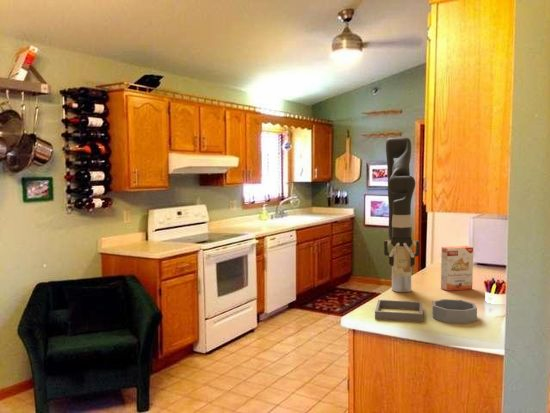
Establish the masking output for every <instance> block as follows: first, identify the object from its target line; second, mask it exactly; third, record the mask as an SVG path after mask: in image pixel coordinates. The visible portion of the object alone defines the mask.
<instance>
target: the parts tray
mask: <svg viewBox="0 0 550 413" xmlns="http://www.w3.org/2000/svg"><path fill="white" fill-rule="evenodd" d="M384 307H386V308H388V309H401V308H404V309H405V310H419V312H418V313H417V312H404V311H403V312H402V311H400V312H399V311H387V310H386V311H383V310H381V308H384ZM423 316H424V314H423V301H408V300H391V299H390V300H389V299H378V300H377V303H376V307H375V309H374V319H375V320H385V319H386V320H387V321H399V322H400V321H402V322H417V323H418V322H419V323H423V321H424V320H423V318H424V317H423Z"/></svg>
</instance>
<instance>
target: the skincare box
mask: <svg viewBox="0 0 550 413" xmlns="http://www.w3.org/2000/svg"><path fill="white" fill-rule="evenodd" d="M393 248H394V246H393V245H392V249H393ZM409 248H410V250H412V245H411V246H410V247H409ZM394 250H395V252H394V254H393V271H392V270H391V276H392V275H394V276H397V277H403V276H411V277H412V267H411V255H410V254H409V252H408V251H407V249H406V248H405V247H404V246H396V248H395V249H394Z"/></svg>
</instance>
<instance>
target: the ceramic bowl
mask: <svg viewBox="0 0 550 413" xmlns="http://www.w3.org/2000/svg"><path fill="white" fill-rule="evenodd" d="M431 307H432V311H431V312H432V313H431V314H432V318H433V319H434V320H436V321H440V322H444V323H446V324H447V323H448V324H458V325H459V324H460V325H465V324H471V323H474V322H477V321H478V307H477V305H476V303H474V302H470V301H467V300H462V299H450V298H449V299H448V298H443V299H442V298H441V299H438V300H434V301H432V306H431Z"/></svg>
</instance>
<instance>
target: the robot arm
mask: <svg viewBox="0 0 550 413" xmlns="http://www.w3.org/2000/svg"><path fill="white" fill-rule="evenodd" d="M385 153H386V154H385V155H386V163H387V164H386V166H387V198H388V201H387V202H388V239H389V240H387V239H385V240H384V241H383V251H384V255H385V256H387V257H388V264H389V265H390V266H391V272H392V271H393V254H394V252H395V250H394V249H395V248H396V246H404V247H405V248H406V249H407V251H408V252H409V254H410V255H411V268H412V267H414V266H415V259H416V257H419V256H420V241H419V240H412V238H413V237H412V236H413V233H412V231H413V228H412V215H411V214H412V211H411V210H412V209H411V206H412V198H413V194H414V192H415V188H416V179H415V178H414V177H413V176H411V171H410V162H411V158H412V142H411V139H410V138H409V137H391V138H387V139H386V141H385ZM394 159H395V160H394ZM390 244H391V245H392V249H391V251H390V252H389V250H388V247H389V246H390ZM412 245H413V246H414V247H415V248H416V249H415V252H414V251H413V250H412V249H411V250H410V248H409V247H410V246H411V247H412ZM393 246H394V248H393ZM391 290H392V291H393V292H396V293H409V292H411V291H412V275H411V276H403V277H397V276H394V275H392V274H391Z"/></svg>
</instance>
